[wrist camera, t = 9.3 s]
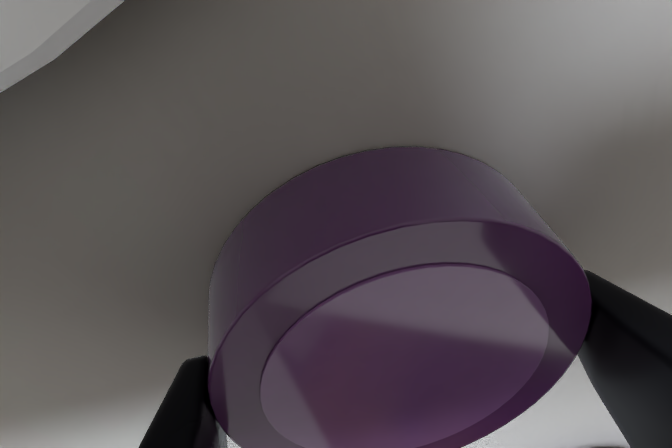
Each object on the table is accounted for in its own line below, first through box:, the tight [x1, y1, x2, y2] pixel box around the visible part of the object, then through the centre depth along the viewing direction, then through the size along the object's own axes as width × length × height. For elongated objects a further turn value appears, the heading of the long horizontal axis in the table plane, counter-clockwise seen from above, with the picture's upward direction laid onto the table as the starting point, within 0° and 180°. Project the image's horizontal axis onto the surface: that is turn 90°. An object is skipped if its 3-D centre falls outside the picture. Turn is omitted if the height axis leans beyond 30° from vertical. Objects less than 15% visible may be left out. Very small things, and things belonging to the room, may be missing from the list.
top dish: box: [207, 147, 592, 448], centre depth 9 cm, size 7×7×2 cm
